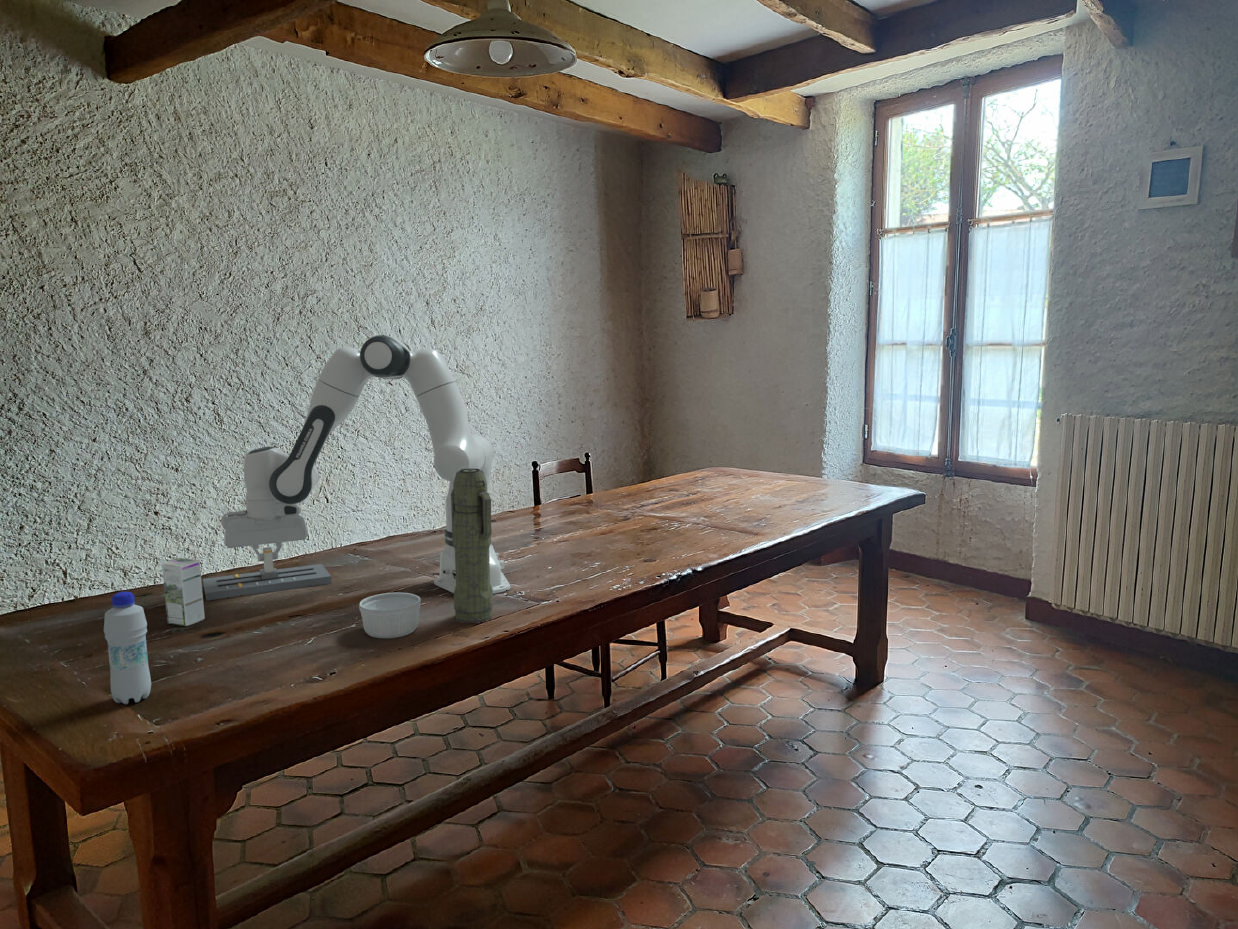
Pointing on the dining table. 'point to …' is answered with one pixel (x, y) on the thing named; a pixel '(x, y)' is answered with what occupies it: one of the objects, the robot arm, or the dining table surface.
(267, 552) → the fader
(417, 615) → the ramekin
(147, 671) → the bottle
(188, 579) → the syrup box
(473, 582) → the thermos
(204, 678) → the dining table surface
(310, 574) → the console
